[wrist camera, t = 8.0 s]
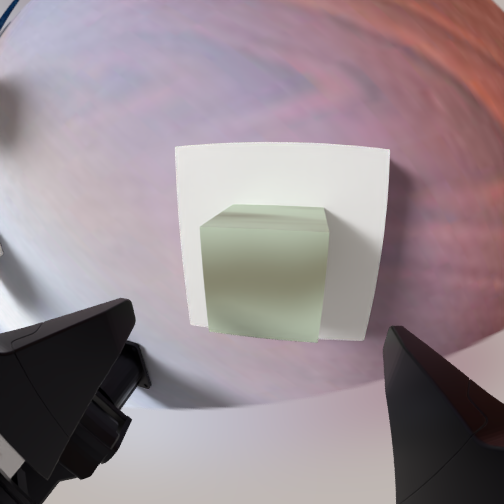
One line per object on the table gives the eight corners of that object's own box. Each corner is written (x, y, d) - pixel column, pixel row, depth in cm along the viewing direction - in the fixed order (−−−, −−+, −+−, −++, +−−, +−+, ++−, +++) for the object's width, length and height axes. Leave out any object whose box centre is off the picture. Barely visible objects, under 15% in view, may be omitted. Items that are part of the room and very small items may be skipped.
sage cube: (317, 291, 16) (317, 342, 12) (235, 285, 17) (209, 331, 13) (323, 207, 15) (329, 232, 10) (233, 204, 16) (199, 226, 11)
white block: (358, 317, 20) (363, 340, 17) (204, 304, 22) (190, 324, 19) (377, 150, 15) (389, 149, 13) (194, 147, 18) (175, 146, 15)
